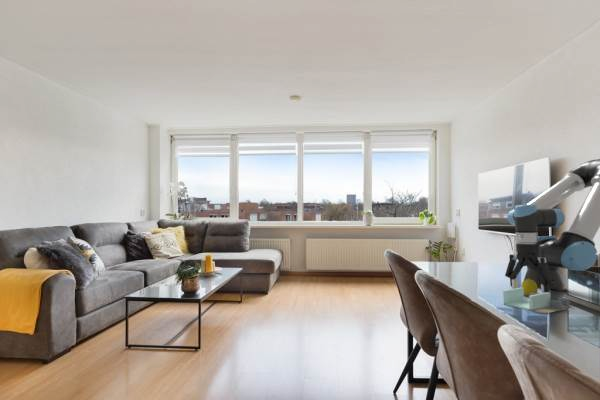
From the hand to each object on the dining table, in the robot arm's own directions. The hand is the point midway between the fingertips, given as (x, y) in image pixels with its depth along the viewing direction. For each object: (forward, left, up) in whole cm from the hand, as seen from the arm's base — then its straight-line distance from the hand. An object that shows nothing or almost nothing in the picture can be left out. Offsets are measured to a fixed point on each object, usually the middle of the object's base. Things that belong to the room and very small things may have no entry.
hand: (529, 298), depth 142 cm
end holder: (+15, +9, +1) cm, 17 cm away
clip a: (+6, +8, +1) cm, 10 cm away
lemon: (0, 0, 0) cm, 0 cm away
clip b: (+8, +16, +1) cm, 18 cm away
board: (+11, +11, 0) cm, 16 cm away
